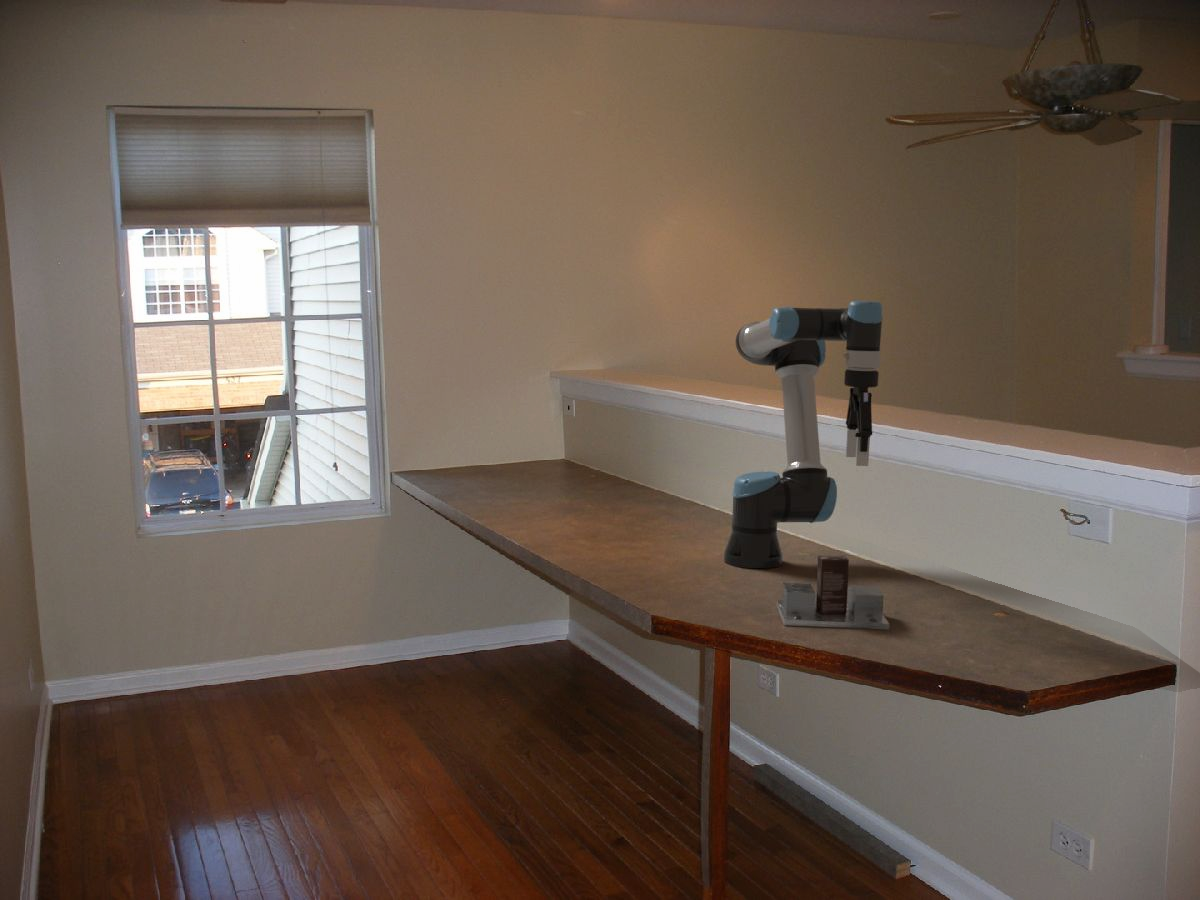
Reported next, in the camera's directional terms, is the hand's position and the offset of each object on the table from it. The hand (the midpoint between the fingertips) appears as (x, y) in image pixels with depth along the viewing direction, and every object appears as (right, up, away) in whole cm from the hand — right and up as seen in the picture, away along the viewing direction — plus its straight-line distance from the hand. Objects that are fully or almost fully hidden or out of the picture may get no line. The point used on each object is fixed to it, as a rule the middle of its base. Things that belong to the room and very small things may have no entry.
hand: (856, 461), depth 265 cm
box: (-9, -33, -14) cm, 37 cm away
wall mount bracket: (-9, -34, -14) cm, 38 cm away
